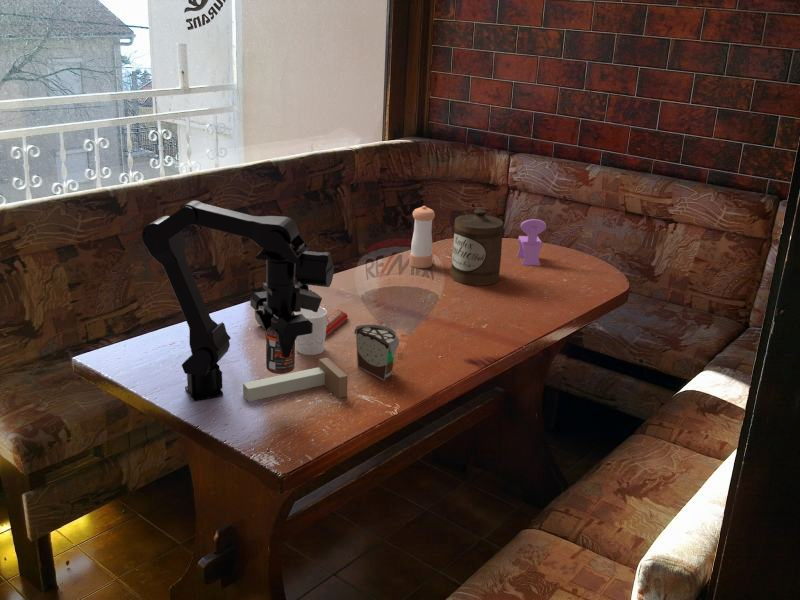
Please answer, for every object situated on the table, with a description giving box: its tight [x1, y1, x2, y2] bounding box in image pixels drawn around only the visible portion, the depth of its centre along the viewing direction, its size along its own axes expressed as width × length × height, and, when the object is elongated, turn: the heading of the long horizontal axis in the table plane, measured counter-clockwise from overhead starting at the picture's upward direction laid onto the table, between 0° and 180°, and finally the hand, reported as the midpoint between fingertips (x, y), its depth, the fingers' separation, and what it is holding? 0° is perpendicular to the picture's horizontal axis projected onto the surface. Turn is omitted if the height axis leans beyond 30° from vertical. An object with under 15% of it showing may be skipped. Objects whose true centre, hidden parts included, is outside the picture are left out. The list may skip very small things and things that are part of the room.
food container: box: [353, 324, 400, 382], centre depth 193 cm, size 12×6×10 cm, turn 44°
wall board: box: [242, 357, 348, 402], centre depth 181 cm, size 20×10×5 cm, turn 121°
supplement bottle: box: [265, 317, 296, 375], centre depth 173 cm, size 6×6×11 cm
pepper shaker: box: [409, 205, 436, 269], centre depth 263 cm, size 7×7×19 cm
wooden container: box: [450, 207, 504, 286], centre depth 254 cm, size 15×15×22 cm
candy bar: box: [325, 309, 349, 338], centre depth 216 cm, size 16×4×3 cm, turn 159°
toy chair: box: [516, 218, 547, 267], centre depth 273 cm, size 8×9×15 cm
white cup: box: [294, 306, 328, 356], centre depth 202 cm, size 8×8×10 cm
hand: (280, 350), depth 174 cm, fingers closed on supplement bottle, 6 cm apart
